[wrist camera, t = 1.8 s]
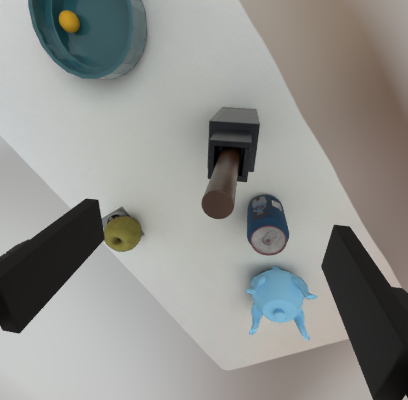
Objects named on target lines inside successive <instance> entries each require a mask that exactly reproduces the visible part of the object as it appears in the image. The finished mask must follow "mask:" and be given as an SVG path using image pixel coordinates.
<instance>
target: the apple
mask: <svg viewBox="0 0 408 400" xmlns="http://www.w3.org/2000/svg"><path fill="white" fill-rule="evenodd" d="M104 237H105V239H104V241H105V243H106V244H107V245H108V246H109V247H110V248H112V249H114V250H116V251H119V252H125V251H129V250H131V249H133V248H134V247H135V246H136V245H137V244H138V242H139V241H140V238H141V227H140V225H139V223H138V222H137V221H136V220H135V219H133V218H131V217H128V216H122V217H118V218H115V219H113V220H111V221H110V222H109V223H108V224H107V225H106V227H105V229H104Z"/></svg>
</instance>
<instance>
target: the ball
mask: <svg viewBox="0 0 408 400" xmlns="http://www.w3.org/2000/svg"><path fill="white" fill-rule="evenodd" d="M59 23H60V25H61V27H62V28H63V29H64V30H65V31H67V32H69V33H75V32H77V31H78V30H79V28H80V22H79V19H78V17H77V16H76V14H74V13H73V12H72V11H69V10H64V11H62V12H61V13H60V15H59Z"/></svg>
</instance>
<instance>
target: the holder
mask: <svg viewBox="0 0 408 400" xmlns="http://www.w3.org/2000/svg"><path fill="white" fill-rule="evenodd" d="M259 127H260V123H259V119H258V114H257V110H256V109H244V108H225V107H222V108H221V109H220V111H219V112H218V113H217V114H216V115H215V116H214V117H213V118H212V119H211V120H210V121H209V144H208V179H210V178H211V176H212V173H213V171H214V168H215V166H216V163H217V161H218V158H219V155H220V153H221V150H222V148H223V147H237V148H241V153H240V161H239V169H238V177H237V181H239V182H247V177H248V172H254V166H255V158H256V150H257V142H258V134H259Z"/></svg>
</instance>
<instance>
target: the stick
mask: <svg viewBox="0 0 408 400" xmlns="http://www.w3.org/2000/svg"><path fill="white" fill-rule="evenodd" d="M240 153H241V148H237V147H223V148H222V150H221V153H220V155H219V158H218V161H217V163H216V166H215V168H214V171H213V173H212V176H211V178H210V181H209V184H208V186H207V189H206V191H205V194H204V196H203V199H202V208H203V210H204V212H205V213H206V214H207V215H208V216H209V217H211V218H214V219H223V218H226V217H227V216H229V215H230V214H231V213H232V211H233V208H234V201H235V193H236V185H237V177H238V169H239V161H240Z"/></svg>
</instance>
